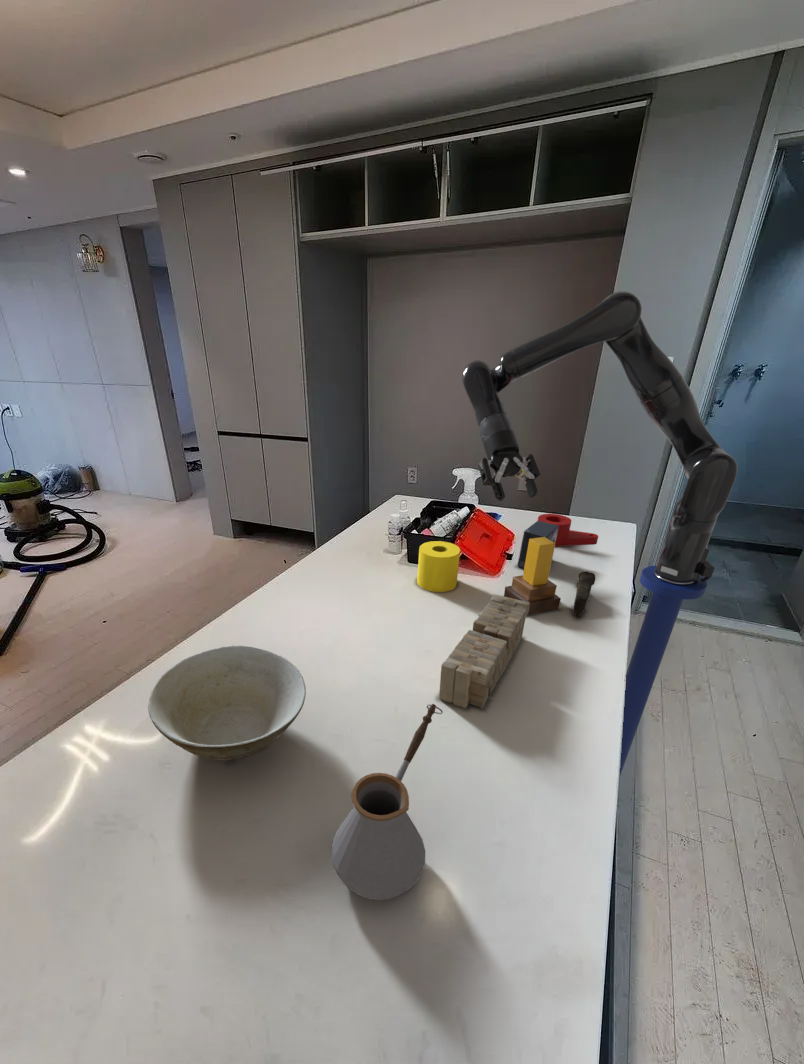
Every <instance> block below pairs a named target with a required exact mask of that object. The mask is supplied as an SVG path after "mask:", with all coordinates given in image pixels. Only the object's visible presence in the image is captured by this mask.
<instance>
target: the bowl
mask: <svg viewBox="0 0 804 1064" xmlns="http://www.w3.org/2000/svg"><path fill="white" fill-rule="evenodd" d="M150 692H151V693H150V695H149V699H148V705H147V711H148V715H149V718H150V720H151V723H152V724H153V725H154V727H155V729H156V730H158V732H159V733H160V734H161V735H163V736H164V738H166V739H167V740H168V741H170V742H171V743H173V744H174V745H176V746H178V747H179V748H181V749H183V750H184V751H186V752H187V753H190V754H193V755H195V756H197V757H201V758H206V759H211V760H217V761H218V760H219V761H231V760H237V759H241V758H245V757H248V756H250V755H253V754H255V753H258V752H259V751H262V749H264V748H265V747H268V746H269V745H270V744H272V743H273V742H274V741H275V740H276V739H278V738H279V737H280V736H281V735H283V734H284V733H285V731H287V729H288V728H289V727H290V726H291V725H292V724H293V722H294V721H295V720H296V718H298V716H299V714H300V713H301V711H302V709H303V707H304V704H305V699H306V694H307V688H306V684H305V680H304V677H303V675H302V673H301V671H300V670H299V668H298V667H296V665H294V664H293V662H291V661H290V660H288V659H287V658H285V657H283V656H282V655H279V654H277V653H274V652H272V651H270V650H267V649H263V648H258V647H254V646H247V645H230V646H222V647H218V648H212V649H207V650H205V651H202V652H200V653H197V654H193V655H191V656H188V657H186V658H184V659H182V660H180V661H179V662H177V663H176V664H175V665H173V666H171V668H169V669H167V671H165V672H164V673H163V674H162V675H161V676H160V678H159V679H158V680H157V682H156V683H155V685H154V686H153V688H152V689H151V691H150Z"/></svg>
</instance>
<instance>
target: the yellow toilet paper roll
mask: <svg viewBox="0 0 804 1064" xmlns="http://www.w3.org/2000/svg"><path fill="white" fill-rule="evenodd" d="M460 556H461V548H460V547H459V546H458V545H457V544H455V543H452V542H448V541H443V540H433V541H431V540H430V541H426V542H424V543H422V544H420V545H419V548H418V560H417V561H418V562H417V577H416V584H417V586H419V587H420V588H421V589H423V590H425V591H428V592H434V593H445V592H446V593H447V592H450V591H453V590H454V589H455V588H456V587H457V584H458V574H459V564H460Z"/></svg>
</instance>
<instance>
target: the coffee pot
mask: <svg viewBox="0 0 804 1064" xmlns="http://www.w3.org/2000/svg"><path fill="white" fill-rule="evenodd" d="M426 709H427V713H426V715H424V716H422V721H421V723H420V725H418V726H419V727H418V728H417V729H416V731H415V732H414V735H413V736H412V739H411V741H410V744H409V746H408V749H407V752H406V753H405V756H404V758H403V762H402V763H401V765H400V767H399V769H398V771H397V773H396V775H395V776H394V775H392V774H389V773H386V772H373V773H372V772H371V773H369V774H366V775H364V776H362V777H360V778H359V779H358V781H356V783H354V786H353V787H352V790H351V795H350V796H351V802H352V804H353V808H352V809H351V810H350V811H349V813H348V814H347V816H346V818H344V820H343V822H342V823H341V825H340V826H339V827H338V829H337V831H336V833H335V835H334V836H333V839H332V845H331V849H330V851H331V852H330V853H331V862H332V865H333V867H334V871H335V873H336V875H337V877H338V878H339V879H340V880H341V882H342V883H343V884H344V885H345V886H346V887H347V888H348V889H349V890H350V891H352V892H353V893H354V894H356V895H359V896H361V897H363V898H366V899H369V900H370V899H371V900H376V901H383V900H391V899H394V898H396V897H398V896H401V895H403V894H404V893H406V892H407V891H408V890H409V889H411V888H412V887H413V886H415V884H416V883H417V882H418V880H419V879H420V877H421V876H422V873H423V870H424V868H425V865H426V848H425V844H424V840H423V837H422V836H421V834H420V833H419V831H418V829H417V827H416V826H415V824H414V822H413V820H412V818H411V817H410V816H409V814H408V811H409V807H410V796H409V791H408V789H407V787H406V786H405V784H404V783H403V782H402V781H403V778H404V777H405V774H406V773H407V770H408V767H409V765H410V764H411V762H412V760H413V759H414V757H415V755H416V753H417V751H418V749H419V748H420V746H421V744H422V742H423V740H424V738H425V735H426V733H427V730H428V727H429V724H431V723H432V721H433V720H432V717H433V715H434V714H437V715H442V714H443V712H444V711H443V709H441V708H440V707H439V706H437V705H436V703H435V704H434V703H432V704H427V705H426ZM436 709H437V710H439V711H440V712H438V711H436Z"/></svg>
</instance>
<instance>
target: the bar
mask: <svg viewBox="0 0 804 1064" xmlns="http://www.w3.org/2000/svg"><path fill="white" fill-rule="evenodd" d="M555 547H556V546H555V543H554V542H552V541H551V540H549V539H547V538H546V537H540V538H532V539H529V544H528V550H527V555H526V561H525V567H524V568H523V573H522V575H523V579H524V580H525V581H527V582H528V583H529V584H531V585H532V586H534V585H540V584H546V583H547V582H548V580H549V576H550V572H551V566H552V563H553V558H554V552H555V549H556V548H555Z"/></svg>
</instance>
